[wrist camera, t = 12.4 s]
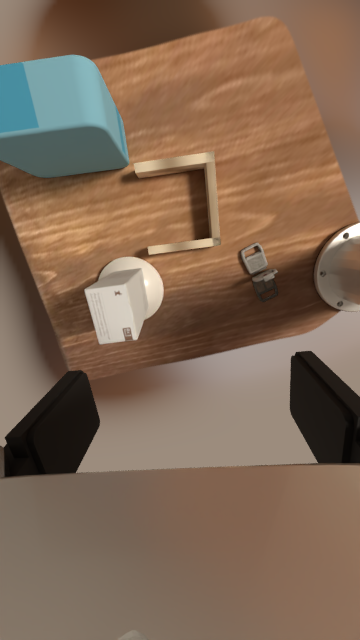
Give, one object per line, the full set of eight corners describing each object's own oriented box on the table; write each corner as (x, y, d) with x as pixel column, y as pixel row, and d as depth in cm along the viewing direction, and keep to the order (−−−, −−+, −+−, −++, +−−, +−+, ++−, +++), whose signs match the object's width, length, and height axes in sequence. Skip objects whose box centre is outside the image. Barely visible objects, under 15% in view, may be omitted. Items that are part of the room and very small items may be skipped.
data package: (125, 125, 29) (90, 49, 17) (132, 167, 30) (103, 123, 19) (30, 138, 29) (-65, 72, 18) (41, 179, 31) (-41, 143, 19)
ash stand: (211, 158, 30) (214, 151, 28) (217, 244, 33) (220, 245, 31) (137, 169, 30) (133, 163, 28) (151, 253, 34) (148, 254, 31)
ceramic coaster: (158, 252, 34) (157, 252, 33) (168, 316, 36) (167, 318, 36) (92, 261, 34) (90, 261, 33) (107, 323, 37) (105, 325, 36)
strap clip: (237, 251, 34) (245, 252, 30) (257, 240, 33) (268, 240, 29) (259, 302, 36) (269, 310, 32) (278, 293, 36) (290, 300, 32)
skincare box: (113, 271, 34) (78, 286, 22) (144, 267, 33) (125, 280, 22) (122, 312, 35) (94, 346, 24) (151, 308, 35) (138, 341, 24)
